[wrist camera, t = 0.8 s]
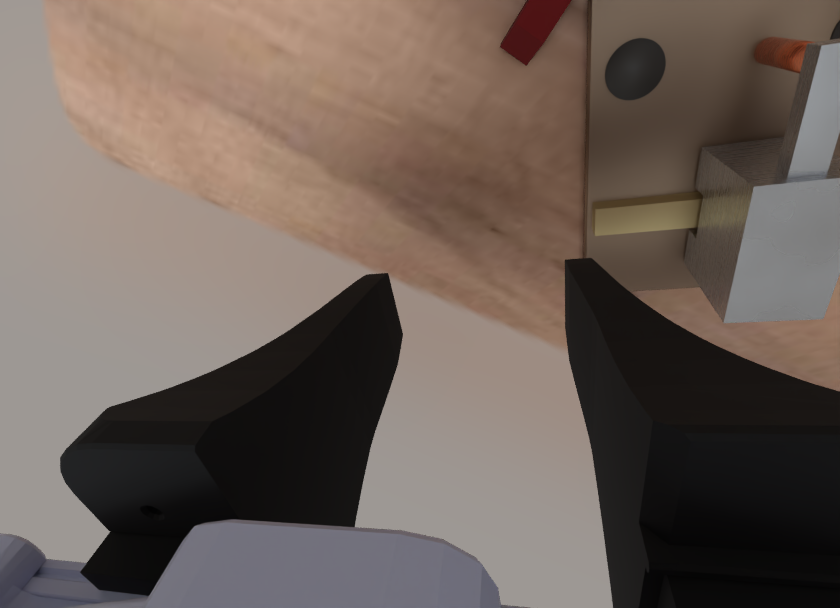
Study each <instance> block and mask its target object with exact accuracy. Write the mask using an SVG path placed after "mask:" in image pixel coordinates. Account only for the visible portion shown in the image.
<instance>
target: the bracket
mask: <svg viewBox="0 0 840 608" xmlns="http://www.w3.org/2000/svg"><path fill="white" fill-rule="evenodd" d="M570 2H571V0H527V1H526V3H525V5H524V6H523V8H522V10H521V11H520V13H519V15H518V16H517V18H516V20H515V21H514V23H513V25H512V26H511V28H510V30H509V31H508V33H507V34H506V36H505V38H504V39H503V41H502V43H501V46H500V47H501V48H502V49H504V50H505V51H506V52H508V53H509V54H511V55H512V56H513V57H515V58H516V59H518V60H519V61H520V62H522V63H523V64H525V65H527V64H528V63H529V61H530V60H531V59H532V58H533V56H534V55H535V54H536V52H537V51H538V50H539V48H540V47H541V46H542V45H543V43H544V42H545V40H546V39H547V37H548V36H549V34H550V33H551V31H552V29H553V28H554V26H555V25H556V23H557V22H558V20H559V19H560V17H561V16H562V14H563V13H564V11H565V10H566V8H567V7H568V5H569V4H570Z"/></svg>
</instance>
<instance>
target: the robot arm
mask: <svg viewBox="0 0 840 608" xmlns="http://www.w3.org/2000/svg"><path fill="white" fill-rule="evenodd" d="M565 329H566V337H567V346H568V354H569V361H570V365H571V369H572V373H573V377H574V381H575V385H576V388H577V392H578V396H579V400H580V404H581V408H582V411H583V415H584V419H585V423H586V427H587V431H588V435H589V439H590V444H591V449H592V454H593V460H594V468H595V475H596V481H597V488H598V495H599V502H600V509H601V516H602V524H603V531H604V539H605V546H606V554H607V562H608V569H609V577H610V584H611V593H612V601H613V608H840V392H839V391H836V390H832V389H829V388H825V387H822V386H819V385H815V384H812V383H809V382H806V381H803V380H800V379H797V378H795V377H792V376H789V375H786V374H784V373H781V372H778V371H775V370H772V369H770V368H767V367H764V366H762V365H759V364H757V363H755V362H752V361H750V360H747V359H745V358H742V357H740V356H738V355H736V354H733V353H731V352H729V351H727V350H725V349H722V348H720V347H718V346H716V345H714V344H712V343H710V342H708V341H706V340H704V339H702V338H700V337H698V336H696V335H694V334H693V333H691V332H689V331H687V330H686V329H684V328H682V327H680V326H678V325H677V324H675V323H673V322H672V321H670V320H668V319H667V318H665V317H664V316H662V315H661V314H659V313H658V312H656V311H655V310H653V309H652V308H651V307H649V306H648V305H646V304H645V303H643V302H642V301H641V300H640V299H638V298H637V297H636V296H634V295H633V294H632V293H631V292H629V291H628V290H627V289H626V288H624V287H623V286H622V285H621V284H620V283H619V282H618V281H616V280H615V279H614V278H613V277H612V276H611V275H610V274H609V273H608V272H607V271H605V270H604V269H603V268H602V267H601V266H600V265H599V264H598V263H597V262H596V261H595V260H593V259H592V258H582V259H569V260H565ZM402 337H403V333H402V329H401V325H400V321H399V316H398V312H397V308H396V305H395V300H394V296H393V292H392V288H391V283H390V279H389V275H388V273H382V274H369V275H365V276H363V277H362V278H360V279H359V280H357V281H356V282H354V283H353V284H352V285H350V286H349V287H348V288H346V289H345V290H344V291H343V292H341V293H340V294H339V295H337V296H336V297H335V298H333V299H332V300H331V301H329V302H328V303H327V304H326V305H324V306H323V307H322V308H320V309H319V310H318V311H316V312H315V313H313V314H312V315H311V316H309V317H308V318H306V319H305V320H303V321H302V322H301V323H299V324H298V325H296V326H295V327H294V328H292V329H291V330H289V331H287V332H286V333H284V334H283V335H281V336H279V337H278V338H276V339H274V340H273V341H271V342H270V343H267V344H266V345H264V346H262V347H260V348H259V349H257V350H255V351H253V352H251V353H249V354H247V355H245V356H243V357H241V358H239V359H237V360H235V361H233V362H231V363H229V364H227V365H225V366H223V367H220V368H218V369H216V370H214V371H212V372H209V373H207V374H204V375H202V376H199V377H197V378H195V379H192V380H190V381H187V382H184V383H182V384H179V385H176V386H174V387H171V388H168V389H166V390H163V391H160V392H156V393H153V394H150V395H147V396H144V397H141V398H137V399H134V400H131V401H128V402H125V403H122V404H118V405H115V406H111V407H109V408H107V409H106V410H105V411H104V412H103V413H102V414H101V415H100V416H99V417H98V418H97V419H96V420H95V421H94V422H93V423H92V424H91V425H90V426H89V427H88V428H87V429H86V430H85V431H84V432H83V433H82V434H81V435H80V436H79V437H78V438H77V439H76V440H75V441H74V442H73V443H72V444H71V445H70V446H69V447H68V448H67V449H66V450H65V452H64V453H63V454H62V456H61V458H60V468H61V473H62V476H63V478H64V480H65V483H66V484H67V485H68V487H69V488H70V489H71V490H72V492H73V493H74V494H75V495H76V496H77V497H78V498H79V500H80V501H81V502H82V503H83V504H84V505H85V506H86V507H87V508H88V509H89V510H90V511H91V512H92V513H93V514H94V515H95V516H96V517H97V519H99V521H100V522H101V523H102V524H103V525H104V526H105V527H106V528H107V529H108V530H109V531H111V532H110V533H109V534H108V536H107V537H106V538H105V540H104V541H103V542H102V544H101V545H100V546H99V548H98V549H97V550H96V552H95V553H94V554H93V556H92V557H91V558H90V560H89V561H88V562H87V563H81V562H72V561H62V560H51V559H46V558H45V555H44V554H43V552H41V550H40V549H38V548H37V547H36V546H35V545H34V544H32V543H31V542H30V541H28V540H26V539H24V538H22V537H19V536H16V535H11V534H0V608H527V607H518V606H507V605H501V603H500V597H499V591H498V587H497V586H496V584H495V583H494V581H493V580H492V579H491V577H490V576H489V574H488V573H487V571H486V570H485V568H484V567H483V565H482V564H481V563H480V562H479V561H478V560H477V558H476V557H474V556H472V555H470V554H469V553H467V552H465V551H463V550H461V549H460V548H458V547H456V546H454V545H452V544H450V543H449V542H447V541H445V540H443V539H439V538H435V537H430V536H426V535H421V534H416V533H411V532H407V531H402V530H387V529H372V528H356V527H355V521H356V515H357V510H358V505H359V500H360V494H361V489H362V484H363V479H364V475H365V470H366V466H367V461H368V456H369V452H370V447H371V444H372V440H373V437H374V433H375V430H376V427H377V424H378V421H379V419H380V415H381V413H382V410H383V407H384V404H385V401H386V398H387V395H388V392H389V389H390V386H391V383H392V380H393V377H394V374H395V371H396V368H397V365H398V360H399V354H400V349H401V343H402Z"/></svg>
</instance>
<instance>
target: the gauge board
mask: <svg viewBox="0 0 840 608" xmlns="http://www.w3.org/2000/svg"><path fill="white" fill-rule="evenodd" d="M768 37H781V38H789V39H797V40H804V41H812V42H820V41H826V40H832V39H839V38H840V0H588V41H587V94H586V148H585V201H584V254H583V258H592V259H593V260H595V261H596V262H597V263H598V264H599V265H600V266H601V267H602V268H603V269H604V270H605V271H607V272H608V273H609V274H610V275H611V276H612V277H613V278H614V279H615V280H616V281H618V282H619V283H620V284H621V285H622V286H623V287H624V288H626V289H627V290H628V291H643V290H660V289H678V288H695V287H699V285H698V284H697V282H696V281H695V279H694V278H693V276H692V275H691V273H690V271H689V270H688V268H687V267H686V265H685V264H684V259H685V252H686V245H687V239H688V232H689V229H698V224H699V218H700V212H701V206H702V200H703V195H702V194H701V193H700V192H699V191H698V190H697V189H696V188H695V186H696V180H697V173H698V166H699V160H700V153H701V147H704V146H712V145H720V144H728V143H736V142H744V141H753V140H761V139H769V138H777V137H784V136H785V132H786V128H787V124H788V120H789V115H790V111H791V107H792V103H793V99H794V95H795V91H796V87H797V83H798V79H799V74H800V73H796V72H792V71H788V70H784V69H780V68H776V67H771V66H767V65H763V64H760V63H757V62H756V61H755V59H754V51H755V49H756V47H757V45H758V44H759V43H760V42H761V41H762V40H764V39H766V38H768ZM833 154H834V155H836V156H838V157H840V133H839V136H838V139H837V143H836V146H835V149H834V153H833Z"/></svg>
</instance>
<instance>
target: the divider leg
mask: <svg viewBox="0 0 840 608" xmlns="http://www.w3.org/2000/svg"><path fill="white" fill-rule="evenodd" d="M754 59H755V61H756V62H757V63H760V64H763V65H767V66H771V67H776V68H780V69H784V70H788V71H792V72H796V73H800V74H799V79H798V83H797V87H796V91H795V95H794V99H793V103H792V107H791V111H790V115H789V120H788V124H787V128H786V132H785V136H784V137H777V138H769V139H761V140H753V141H744V142H736V143H728V144H720V145H712V146H704V147H701V153H700V160H699V166H698V173H697V180H696V186H695V188H696V189H697V190H698V191H699V192H700V193H701V194H702V195H703V200H702V206H701V212H700V218H699V224H698V229H689V232H688V239H687V245H686V252H685V259H684V264H685V265H686V267H687V268H688V270H689V271H690V273H691V275H692V276H693V278H694V279H695V281H696V282H697V284H698V285H699V287H700V288H701V290H702V291H703V293H704V294H705V296H706V297H707V299H708V300H709V302H710V303H711V305H712V306H713V308H714V309H715V311H716V312H717V314H718V315H719V317H720V318H721V320H722V321H723V323H737V322H762V321H787V320H812V319H823V318H824V315H825V313H826V310H827V307H828V304H829V302H830V299H831V296H832V293H833V291H834V288H835V285H836V282H837V280H838V277H839V274H840V157H838V156H836V155H834V154H833V153H834V149H835V146H836V143H837V139H838V136H839V133H840V38H839V39H832V40H826V41H820V42H812V41H804V40H797V39H789V38H781V37H768V38H766V39H764V40H762V41H761V42H760V43H759V44H758V45H757V47H756V49H755V51H754Z"/></svg>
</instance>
